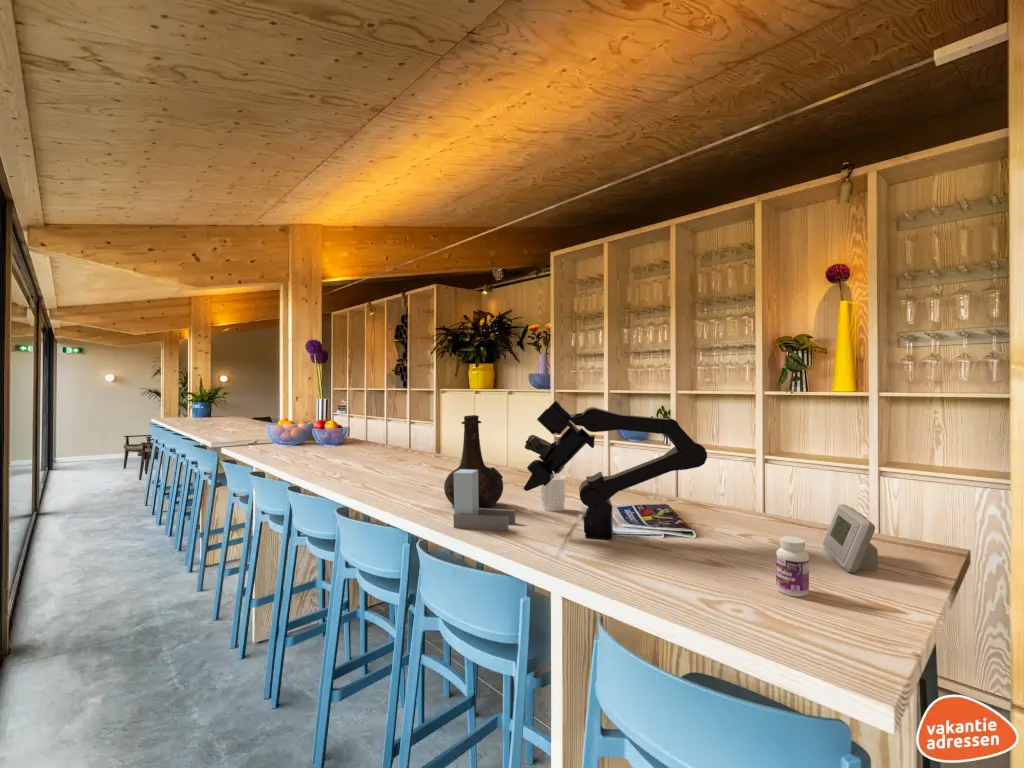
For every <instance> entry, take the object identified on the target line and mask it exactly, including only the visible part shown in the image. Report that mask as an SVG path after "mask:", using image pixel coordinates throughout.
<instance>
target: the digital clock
mask: <svg viewBox="0 0 1024 768" xmlns="http://www.w3.org/2000/svg"><path fill="white" fill-rule="evenodd" d="M875 530H876V526H875V524H874V523H872V521H870V520H869V519H868V518H867V517H866V516H864V515H863V514H861V513H860V512H859V511H857V510H856V509H855V508H853V507H851V506H849V505H847V504H846V503H845V504H844V503H843V504H838V506H837V508H836V510H835V512H834V514H833V516H832V519H831V522H830V524H829V525H828V529H827V531H826V533H825V535H824V538H823V541H822V546H823V548H824V549H825V550H826V551H827V552H828V553H829V555H830V557H831V558H833V559H834V561H835V562H836V563H837V564H838V565H839V566H840V567H841V568H842V569H844V570H845V571H846V572H847V573H856V572H858V570H863V571H878V570H879V569H878V568H879V563H878V562H879V560H878V559H879V556H878V555H879V553H878V552H879V551H878V548H877V547H876V546H874V545H873V544H872V543H871V542H872V541H871V540H872V538H873V537H874V536H873V535H874V533H875Z"/></svg>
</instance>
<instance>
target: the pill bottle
mask: <svg viewBox="0 0 1024 768" xmlns="http://www.w3.org/2000/svg"><path fill="white" fill-rule="evenodd" d="M779 545H780V547H779V548H778V549H777V550H776V552H775V588H776V589H777V591H778V592H779V593H781V594H783V595H786V596H789V597H793V598H802V597H806V596H808V595H809V592H810V556H809V554H808V552H807V551H805V548H806V541H805V540H804V539H803V538H800V537H796V536H790V535H785V536H781V537H780V538H779Z"/></svg>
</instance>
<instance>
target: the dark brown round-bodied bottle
mask: <svg viewBox="0 0 1024 768" xmlns="http://www.w3.org/2000/svg"><path fill="white" fill-rule="evenodd" d="M479 417H480V415H476V414H471V415H464V416H463V419H464V420H463V421H461V424H462V425H463V428H464V429H463V444H462V445H463V446H462V452H461V461H460V464H459V466H458V467H457V468H456V469H454V470H452V471H451V472H450V473H449V474H448V475H447V477H446V478H445V481H444V484H443V489H444V495H445V497H446V499H447V500H448V501H449V502H450V504H451V505H452V506H454V472H456V471H458V470H460V469H468V470H478V497H479V508H487V509H490V508H492V507H493V506H494V505H496V504H497V503H498V502H499V500H500V498H501V497H502V496H503V493H504V492H503V491H504V481H503V478H504V477H503V475H502V474H501V473H500V472H499V471H498V470H497V469H496V468H495V467H493V466H491V467H488V466H487V465H486V464H485V463H484V459H483V454H482V449H481V441H480V430H479V429H480V427H479V424H482V421H481V420H479Z"/></svg>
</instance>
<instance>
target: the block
mask: <svg viewBox="0 0 1024 768" xmlns="http://www.w3.org/2000/svg"><path fill="white" fill-rule="evenodd" d="M453 509H454V510H453V511H454V512H453V514H455V513H456V514H473V515H479V497H478V470H468V469H460V470H458V471H456V472H454V505H453Z"/></svg>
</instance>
